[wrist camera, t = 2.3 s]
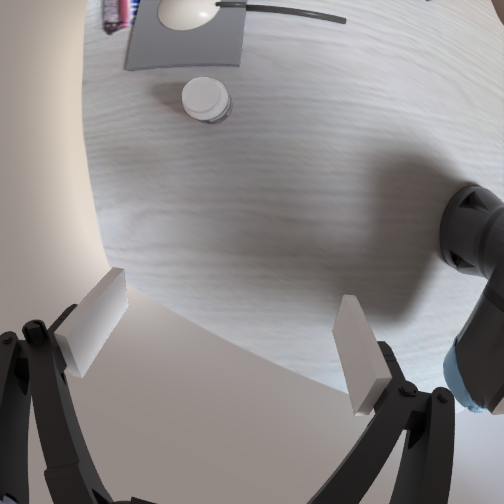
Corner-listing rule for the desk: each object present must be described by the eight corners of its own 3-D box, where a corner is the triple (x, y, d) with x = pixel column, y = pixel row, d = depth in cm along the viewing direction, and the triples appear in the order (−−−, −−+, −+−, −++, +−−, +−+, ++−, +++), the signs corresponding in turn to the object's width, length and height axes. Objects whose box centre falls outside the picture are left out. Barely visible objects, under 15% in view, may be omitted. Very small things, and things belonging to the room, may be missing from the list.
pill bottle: (185, 104, 34) (165, 91, 25) (216, 81, 33) (204, 61, 24) (209, 132, 35) (194, 126, 27) (240, 109, 34) (235, 96, 26)
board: (343, -23, 25) (346, -28, 24) (342, 79, 32) (346, 76, 30) (152, -29, 25) (149, -34, 23) (129, 71, 32) (124, 68, 30)
